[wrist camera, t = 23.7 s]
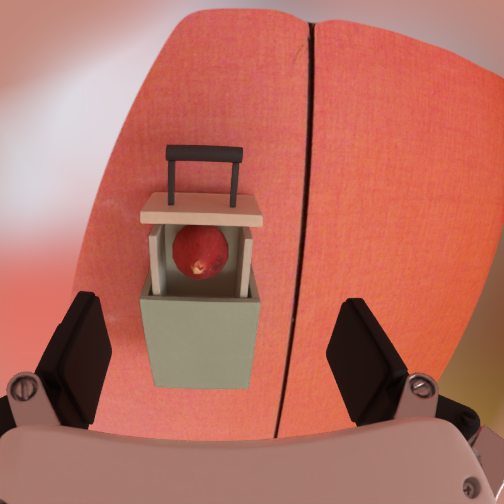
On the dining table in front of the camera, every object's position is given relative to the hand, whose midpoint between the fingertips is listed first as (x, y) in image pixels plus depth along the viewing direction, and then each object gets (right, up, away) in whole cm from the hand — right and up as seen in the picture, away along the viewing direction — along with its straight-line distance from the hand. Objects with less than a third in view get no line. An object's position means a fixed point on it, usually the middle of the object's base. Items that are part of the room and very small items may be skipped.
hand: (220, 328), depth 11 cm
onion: (-5, +5, +23) cm, 24 cm away
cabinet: (-6, -5, +30) cm, 31 cm away
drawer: (-5, +6, +24) cm, 25 cm away
